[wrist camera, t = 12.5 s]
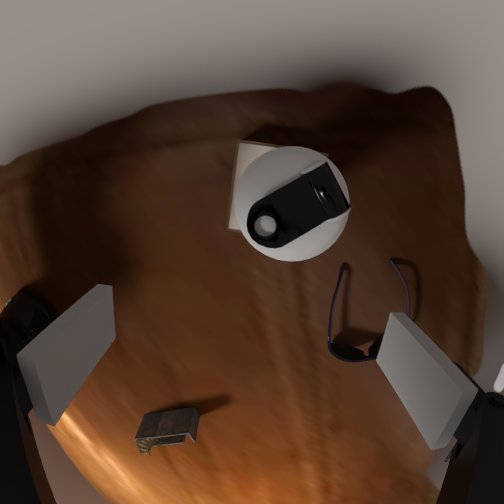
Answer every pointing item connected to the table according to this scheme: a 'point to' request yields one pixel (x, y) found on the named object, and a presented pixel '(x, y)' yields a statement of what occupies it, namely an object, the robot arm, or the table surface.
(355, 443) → the table surface
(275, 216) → the shaker bottle
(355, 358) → the sunglasses
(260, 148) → the block
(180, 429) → the dark angular channel piece
